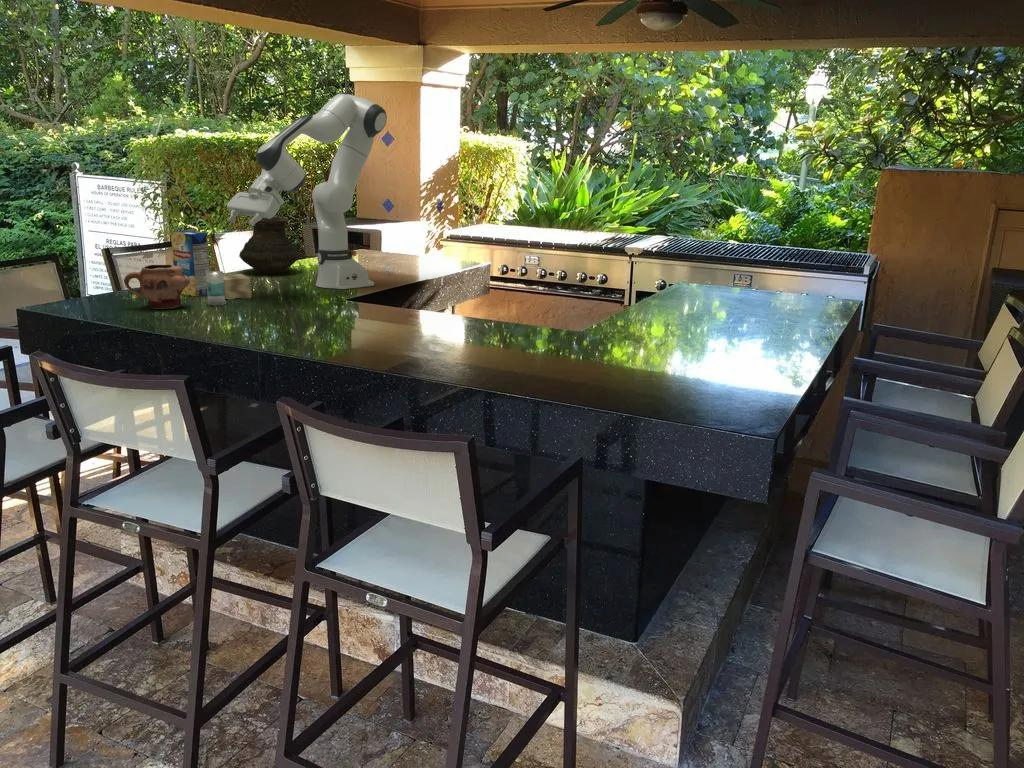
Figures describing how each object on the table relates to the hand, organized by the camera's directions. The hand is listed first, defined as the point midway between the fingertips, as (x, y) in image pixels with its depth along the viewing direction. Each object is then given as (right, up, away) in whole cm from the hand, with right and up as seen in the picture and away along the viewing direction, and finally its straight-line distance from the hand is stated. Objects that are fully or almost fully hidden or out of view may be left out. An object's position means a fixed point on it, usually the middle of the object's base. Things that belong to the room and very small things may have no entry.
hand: (240, 223), depth 292 cm
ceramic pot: (-8, -9, +66) cm, 67 cm away
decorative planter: (-24, -30, -9) cm, 39 cm away
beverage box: (-22, -23, +16) cm, 36 cm away
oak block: (-7, -24, +13) cm, 28 cm away
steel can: (-8, -28, -1) cm, 29 cm away
